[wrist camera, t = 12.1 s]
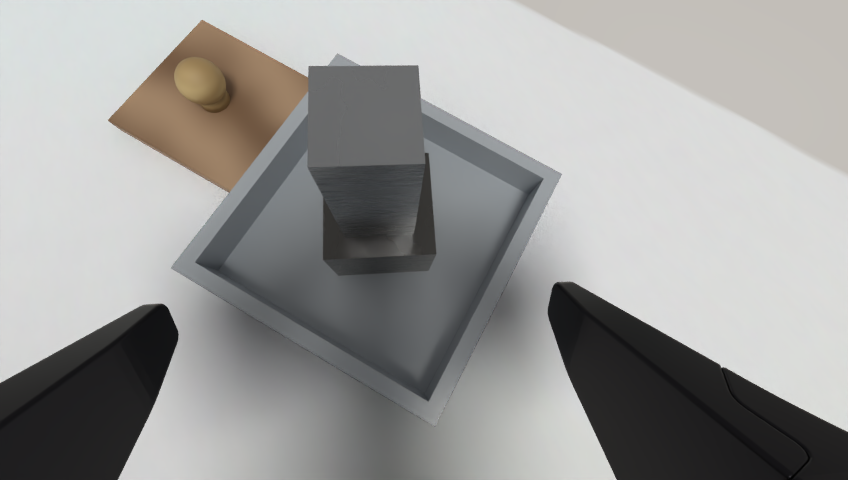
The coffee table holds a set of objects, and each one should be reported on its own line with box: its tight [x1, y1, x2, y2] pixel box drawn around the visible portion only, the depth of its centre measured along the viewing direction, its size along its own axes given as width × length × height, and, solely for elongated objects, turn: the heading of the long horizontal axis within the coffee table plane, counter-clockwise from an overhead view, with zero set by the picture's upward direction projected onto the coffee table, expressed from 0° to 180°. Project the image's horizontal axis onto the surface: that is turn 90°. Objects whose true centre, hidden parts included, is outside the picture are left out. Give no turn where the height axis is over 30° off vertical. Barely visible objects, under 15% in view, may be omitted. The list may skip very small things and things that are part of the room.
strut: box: [307, 65, 436, 276], centre depth 16 cm, size 5×5×12 cm
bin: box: [171, 53, 562, 427], centre depth 21 cm, size 15×15×4 cm
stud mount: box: [108, 20, 308, 192], centre depth 22 cm, size 9×9×4 cm
